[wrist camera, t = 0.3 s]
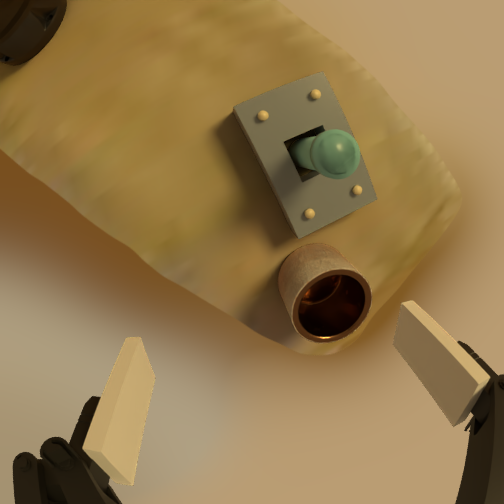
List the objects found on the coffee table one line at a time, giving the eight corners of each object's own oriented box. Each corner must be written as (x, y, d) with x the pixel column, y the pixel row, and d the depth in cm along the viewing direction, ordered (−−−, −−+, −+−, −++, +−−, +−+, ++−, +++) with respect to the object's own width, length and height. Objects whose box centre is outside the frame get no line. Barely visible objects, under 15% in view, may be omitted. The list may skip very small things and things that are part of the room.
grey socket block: (232, 111, 33) (233, 105, 29) (313, 78, 32) (324, 70, 28) (291, 230, 39) (299, 240, 35) (364, 194, 38) (379, 200, 34)
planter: (282, 314, 44) (296, 353, 35) (270, 250, 40) (284, 280, 31) (347, 298, 44) (372, 330, 35) (342, 234, 40) (372, 258, 31)
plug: (280, 144, 35) (304, 140, 24) (311, 130, 35) (348, 122, 24) (295, 176, 37) (325, 187, 26) (326, 162, 37) (366, 167, 25)
